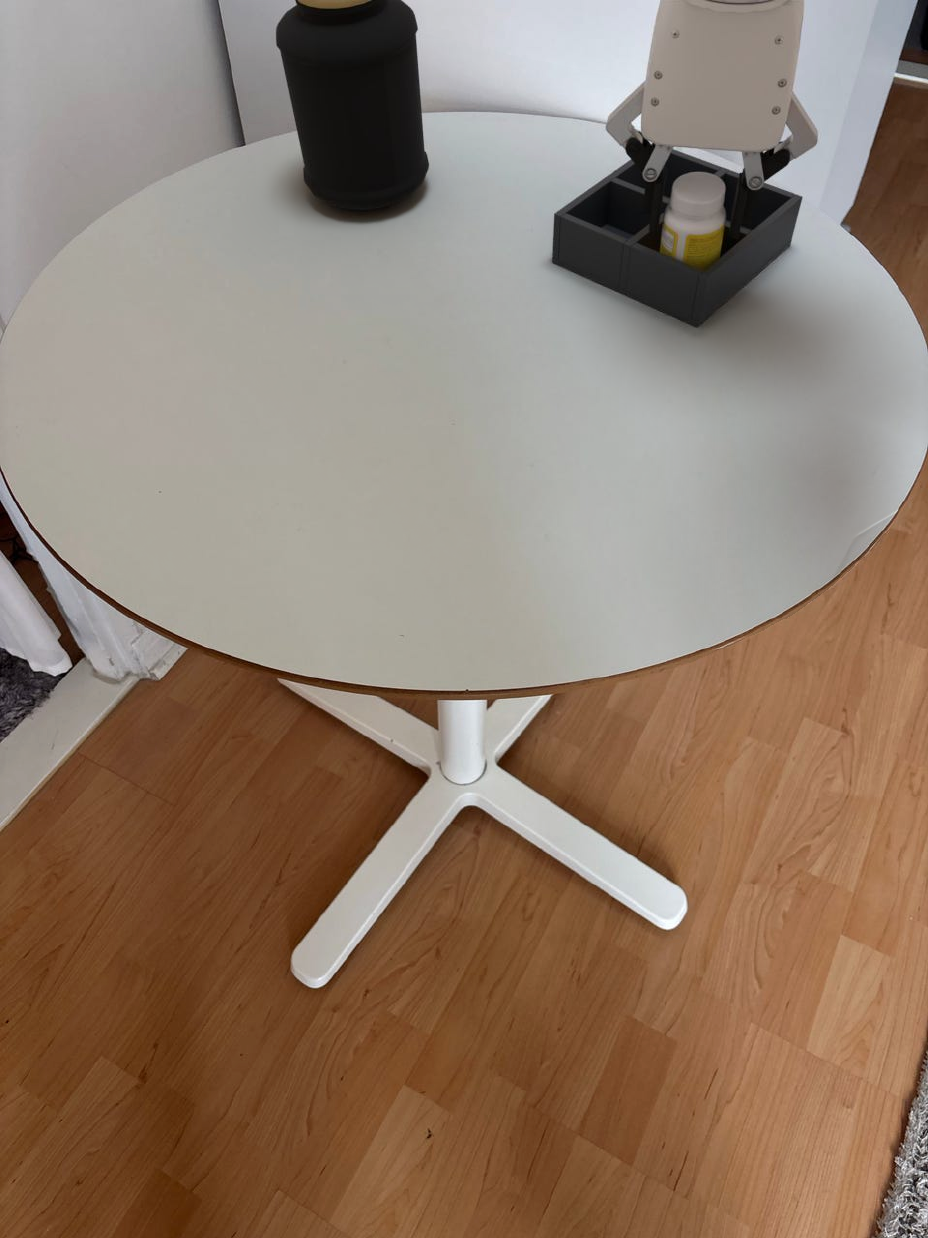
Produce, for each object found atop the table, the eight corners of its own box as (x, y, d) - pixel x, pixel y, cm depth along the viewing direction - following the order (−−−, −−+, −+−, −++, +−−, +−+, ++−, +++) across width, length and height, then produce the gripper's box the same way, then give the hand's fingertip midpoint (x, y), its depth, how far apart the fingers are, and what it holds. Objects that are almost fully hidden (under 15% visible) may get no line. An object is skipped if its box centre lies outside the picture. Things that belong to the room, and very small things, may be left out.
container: (280, 181, 94) (240, -32, 80) (388, 143, 98) (368, -67, 83) (341, 239, 88) (310, 19, 73) (454, 196, 92) (445, -21, 77)
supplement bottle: (724, 272, 81) (742, 178, 74) (699, 305, 79) (715, 212, 72) (672, 255, 83) (684, 161, 76) (646, 287, 81) (656, 194, 74)
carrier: (790, 245, 85) (803, 196, 82) (697, 327, 79) (706, 278, 75) (648, 189, 91) (654, 141, 88) (551, 262, 85) (553, 213, 81)
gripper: (875, -52, 64) (806, 208, 78) (611, -64, 67) (591, 191, 81) (880, -5, 60) (806, 262, 74) (596, -19, 62) (579, 242, 77)
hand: (694, 223), depth 77 cm, fingers open, 5 cm apart
